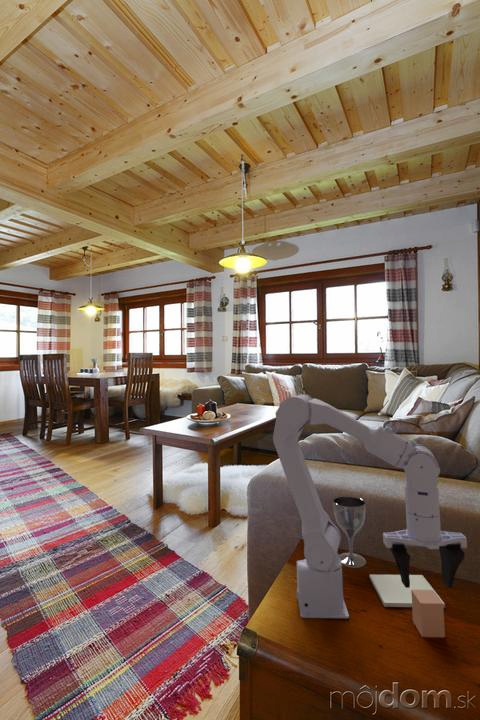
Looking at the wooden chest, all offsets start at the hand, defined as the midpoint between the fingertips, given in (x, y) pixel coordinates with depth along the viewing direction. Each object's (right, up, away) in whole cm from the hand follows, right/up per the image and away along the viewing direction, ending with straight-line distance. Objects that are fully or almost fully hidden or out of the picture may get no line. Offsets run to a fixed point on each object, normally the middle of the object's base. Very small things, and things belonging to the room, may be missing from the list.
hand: (426, 584), depth 65 cm
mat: (+1, -9, +11) cm, 14 cm away
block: (0, -8, 0) cm, 8 cm away
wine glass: (-6, -10, +24) cm, 27 cm away
